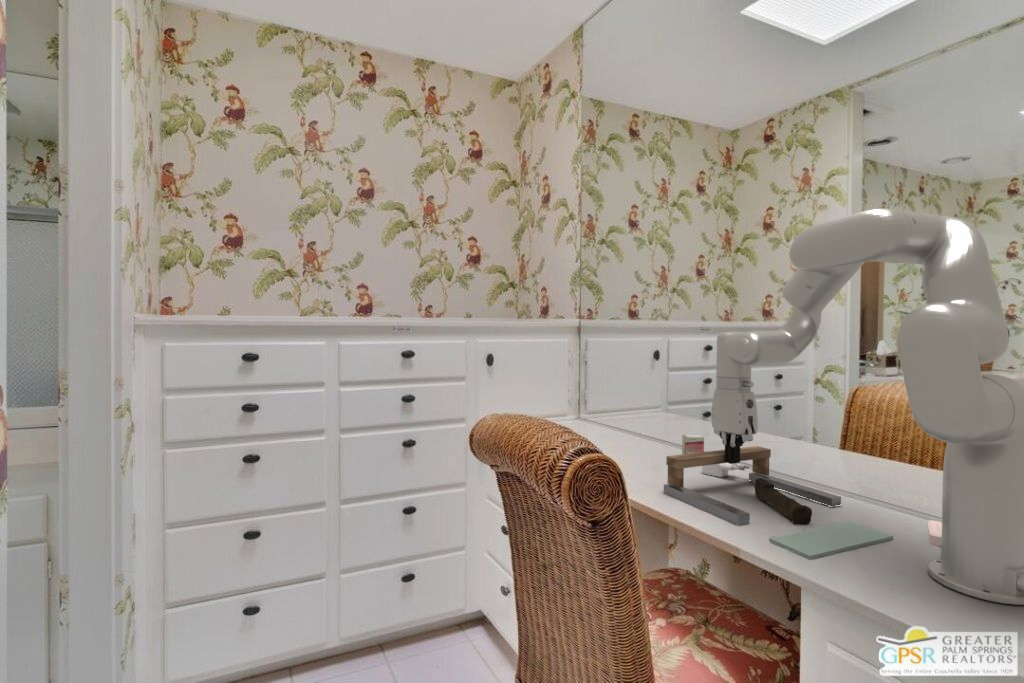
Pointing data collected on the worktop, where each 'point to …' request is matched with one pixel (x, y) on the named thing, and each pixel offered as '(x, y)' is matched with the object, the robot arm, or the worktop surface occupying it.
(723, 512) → the rails
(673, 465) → the wooden bridge block
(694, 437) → the small box
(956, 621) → the worktop surface
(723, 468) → the power adapter
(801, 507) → the dark brown rough bar
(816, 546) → the mat
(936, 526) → the soap bar
